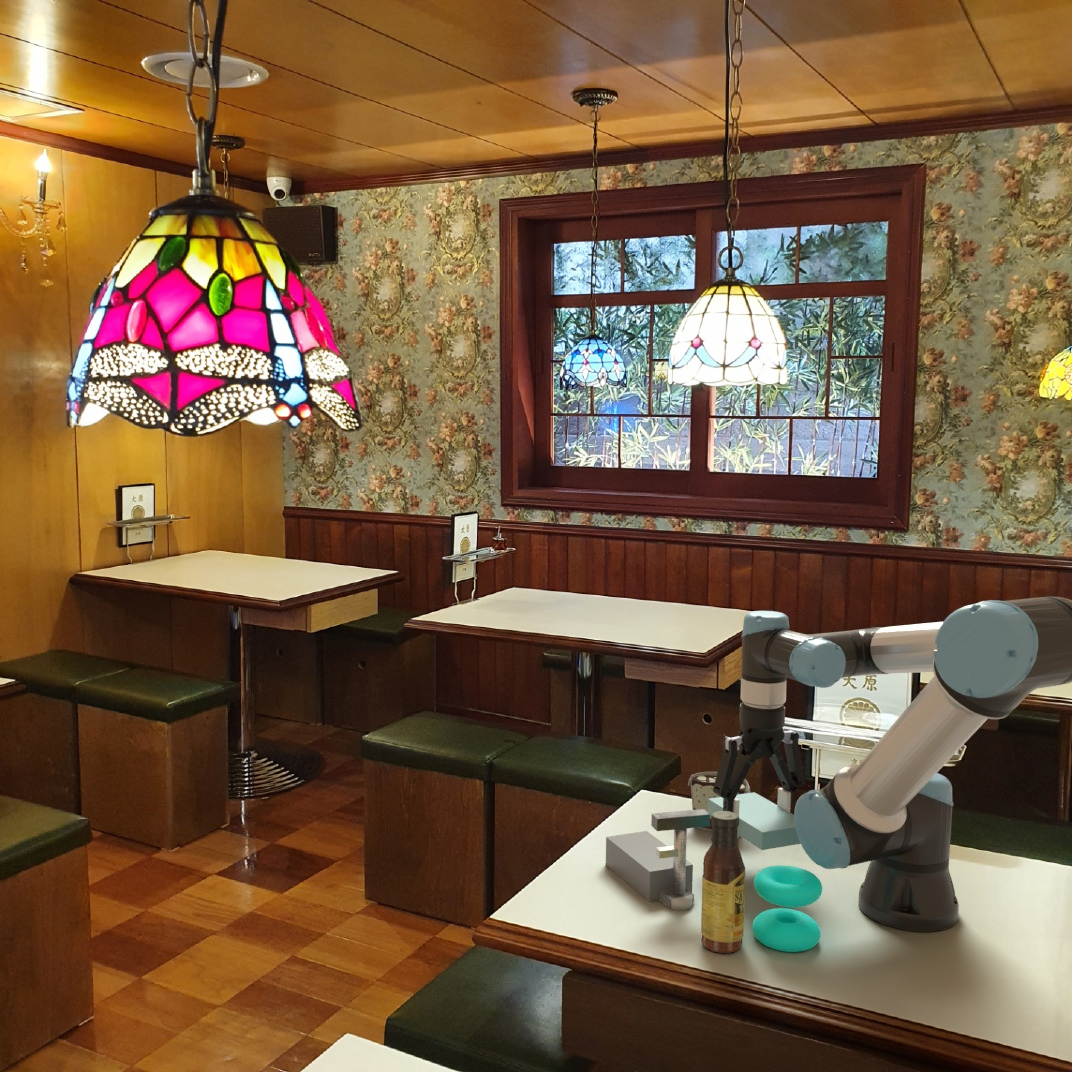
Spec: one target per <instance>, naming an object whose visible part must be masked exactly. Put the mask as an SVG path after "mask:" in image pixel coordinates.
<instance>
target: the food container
mask: <svg viewBox="0 0 1072 1072" xmlns="http://www.w3.org/2000/svg"><path fill="white" fill-rule="evenodd" d="M717 772H718V771H704V772H701V771H700V772H696V773H694V774H691V775H690V778H689V779H688V783H687V787H690V790H691V791H690V793H691V806H692V807H691V810H698V809H704V810H706V811H707V812H708V799H710V798H717V797H720V796H719V795H717V794H715V793H714V792H713V787H714V783H715V780H716V776H717ZM746 793H751V788H750V785H749V782H748V780H747V779H746V778H745V779H744V781H743V783H742V785H741V787H740V789H739V792H738V794H737V795H739V794H746ZM700 828H702V829H701V830H704V831H710V832H712V824H711V817H710V826H709V827H698V828H697V829H700ZM738 838H741V836H739V835H738Z"/></svg>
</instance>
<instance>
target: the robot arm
mask: <svg viewBox="0 0 1072 1072" xmlns="http://www.w3.org/2000/svg"><path fill="white" fill-rule="evenodd" d="M789 621H790V620H789V616H788V615H787V614H786V613H784V612H779V611H774V610H754V611H750V612H748V613H746V614H745V616H744V618H743V624H742V626H743V627H742V633H741V665H740V666H741V669H740V670H741V671H740V673H741V675H740V678H741V679H740V700H741V701H742V702H741V703H740V704H739V725H740V730H739V733H738V735H737V736H734V737H729V736H727V735H725V736H724V737H723V738H722V745H723V747H722V754H721V757H720V762H719V765H718V769H717V771H716V772H717V776H716V780H715V783H714V787H713V792H714V793H715V794H717V795H719V796H720V797H722V798H723V811H729V812H733V813H736V814H737V815H738V816H739V804H740V800H739V799H737V798H736V796H737V794H738V792H739V789H740V787H741V785H742V783H743V781H744V779H746V777H747V776H748V773H749V771H750V769H751V766H753V765H754V764H755V763H756V761H757V760H760V759H762V758H767V759H768V758H769V760H770V763H771V764H772V766H773V768H774V771H775V774H776V775H777V778H778V780H779V781H780V784H781V786H782V787H778V788H777V802H776V803H777V804H776V805H778V806H779V807H781V808H783V809H785V810H786V811H788V812H790V813H791V809H793V808H794V812H793V813H794V814H793V815H794V820H795V828H796V832H797V835H798V838H799V841H800V843H801V844H800V845H801V847H802V849H803V850H804V852H805V854H806V856H808V858H809V859H810V860H811V861H812V862H813V863H815V864H816V865H817V866H819V867H821V868H823V869H826V870H834V869H846V868H848V867H850V866H854V865H859V864H864V863H869V865H868V867H867V870H866V874H865V878H864V881H863V882H862V883H861V885H860V887H859V892H858V902H857V904H858V907H859V909H860V911H861V912H862V913H863V914H865V915H866V916H867V917H868V918H869V919H871V920H874V921H875V922H877V923H880V924H883V925H885V926H888V927H891V928H896V929H899V930H905V931H911V932H924V933H925V932H939V931H944V930H947V929H949V928H952V927H953V926H954V925H956V923H957V922H958V920H959V910H960V909H959V908H960V907H959V906H960V905H959V901H958V897H957V896H956V891H955V887H954V883H953V879H952V876H951V873H950V854H951V853H950V852H951V849H950V848H951V837H952V822H953V821H952V818H953V807H954V802H953V786H952V783H951V781H950V780H949V779H948V777H946V776H944V775H943V774H940V773H938V772H939V771H940V770H941V769H942V768H943V767H944V766H945V765H946V764H947V762H949V761H950V759H952V757H953V756H954V755H955V754H956V753H957V752H958V751H959V750H960V749H961V748H962V747H963V745H964V744H966V742H968V741H969V739H971V737H972V736H973V735H974V734H975V733H976V732H977V731H978V730H979V729H980V728H981V727H982V726H983V724H984V723H985V722H987V720H988V719H989V720H1000V719H1004V718H1006V717H1008V716H1009V715H1010V714H1012V712H1013V711H1014V710H1015V709H1016V708H1017V707H1018V706H1019V705H1020V704H1021V703H1022V701H1024V700H1025V698H1026V697H1028V695H1029V694H1031V693H1032V692H1034V691H1035V690H1037V689H1044V688H1049V687H1056V686H1061V685H1066V684H1071V683H1072V600H1071V599H1070V598H1065V597H1062V596H1061V597H1060V596H1040V597H1029V598H1021V599H1020V598H1019V599H1011V600H992V599H991V600H990V599H989V600H982V601H979V602H977V603H972V604H968V605H964V606H962V607H960V608H958V609H956V610H954V611H953V612H952V613H950V614H949V615H948V616H947V617H946V618H945V619H944V621H937V622H926V623H915V624H913V623H912V624H904V625H894V626H893V625H891V626H886V627H885V626H884V627H879V626H876V627H875V626H874V627H867V628H861V629H853V630H844V631H834V632H832V631H831V632H821V633H812V634H805V633H802V632H796V631H794V630H791V629H790V622H789ZM908 673H910V674H915V673H933V677H932V678H931V679H930V680H929V682H928V683H927V684H926V685H925V686H924V688H923V689H922V690H921V691H920V692H919V693H918V694H917V695H916V697H915V698H914V699H913V701H912V702H910V703H909V705H908V706H907V707H906V708H905V709H904V710H903V712H902V713H901V714H900V715H899V717H898V718H897V719H896V720H895V721H894V723H892V725H891V726H890V727H889V728H888V729H887V731H886V732H885V733H884V734H883V735H882V737H880V738H879V740H878V741H877V742H876V744H875V745H874V746H873V747H872V748H871V750H870V751H868V753H867V754H866V755H865V756H864V757H863V759H862V760H860V762H859V763H858V764H849V765H846V766H844V767H842V768H841V769H840V770H838V772H836V774H835V775H834V776H833V778H832V779H831V780H830V781H829V782H828V783H827V784H826V786H824V787H822V788H821V789H819V790H816V789H812V790H809V791H808V792H805V793H802V794H801V795H800V797H799V798H797V801H796V802H795V794H797V793H799V790H800V788H799V787H802V788H803V787H804V786H805V784H806V782H805V775H804V770H803V766H802V760H801V754H800V749H799V739H800V734H799V732H796V731H794V730H792V729H790V728H787V729H786V730H784V729H783V728H784V726H785V723H786V722H785V721H786V707H785V705H784V704H785V703H786V701H787V678H788V679H790V680H793V681H797V682H799V683H802V684H803V685H806V686H808V687H817V688H819V689H820V688H823V689H826V688H830V687H833V685H835V684H836V683H837V682H839V681H840V680H841V679H845V678H851V677H861V676H870V675H874V676H875V675H890V674H908ZM782 742H783V747H784V753H785V758H786V761H787V763H786V762H785V760H784V754H783V752H782V750H781V747H780V746H781V744H782ZM740 746H741V747H740ZM794 804H795V807H794ZM738 828H739V825H738ZM738 838H739V837H738V833H737V839H738Z"/></svg>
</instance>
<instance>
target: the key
mask: <svg viewBox="0 0 1072 1072" xmlns="http://www.w3.org/2000/svg"><path fill="white" fill-rule="evenodd" d="M650 823H651V827H652V828H653V829H654V830H655V831H656V832H663V831H673V845H667V846H665V847H656V855H657V856H658V857H659V858H669V857H673V893H674V894H678V895H682V894H685V879H686V860H687V839H688V838H687V833H688V830H687V829H699V828H698V827H709V826H710V814H709V813H708V812H707V811H706V810H704V809H698V810H693V809H689V810H688V809H687V810H680V811H679V810H677V811H668V812H667V811H665V812H653V813H651V821H650Z"/></svg>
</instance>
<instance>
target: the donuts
mask: <svg viewBox="0 0 1072 1072" xmlns="http://www.w3.org/2000/svg"><path fill="white" fill-rule="evenodd" d="M753 885H754V890H755V891H756V893H757V895H758V896H760V897H761V898H762V899H763V900H765V901H766V902H768V903H770V904H772V905H776V906H780V907H778V908H777V907H775V908H770V909H767V910H764V911H762V912H760V913H758V915H756V917H755V918H754V920H753V923H752V925H751V926H752V928H751V929H752V933H753V935H754V937H755V938H756V939H757V940H758V941H759V942H760V943H761V944H763V945H764V946H765V947H768V948H770V949H772V950H776V951H780V952H787V953H789V952H790V953H796V952H797V953H799V952H805V951H808V950H810V949H813V948H814V947H815V946H816V945H817V944H818V943H819V942H820V939H821V929H820V926H819V925H818V923H817V921H815V919H813V918H812V917H811V916H810V915H808V914H806V913H805V912H802V911H799V910H797V909H793V908H803V907H807V906H810V905H812V904H814V903H815V902H817V901H818V900H819V899H820V897H822V893H823V885H822V882H821V880H820V879H819V877H817V875H816V874H814V873H813V872H811V871H809V870H807V869H804V868H801V867H796V866H792V865H783V864H782V865H771V866H767V867H764V868H762V869H761V870H759V871H758V872H757V873H756V875H755V876H754V878H753Z"/></svg>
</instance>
